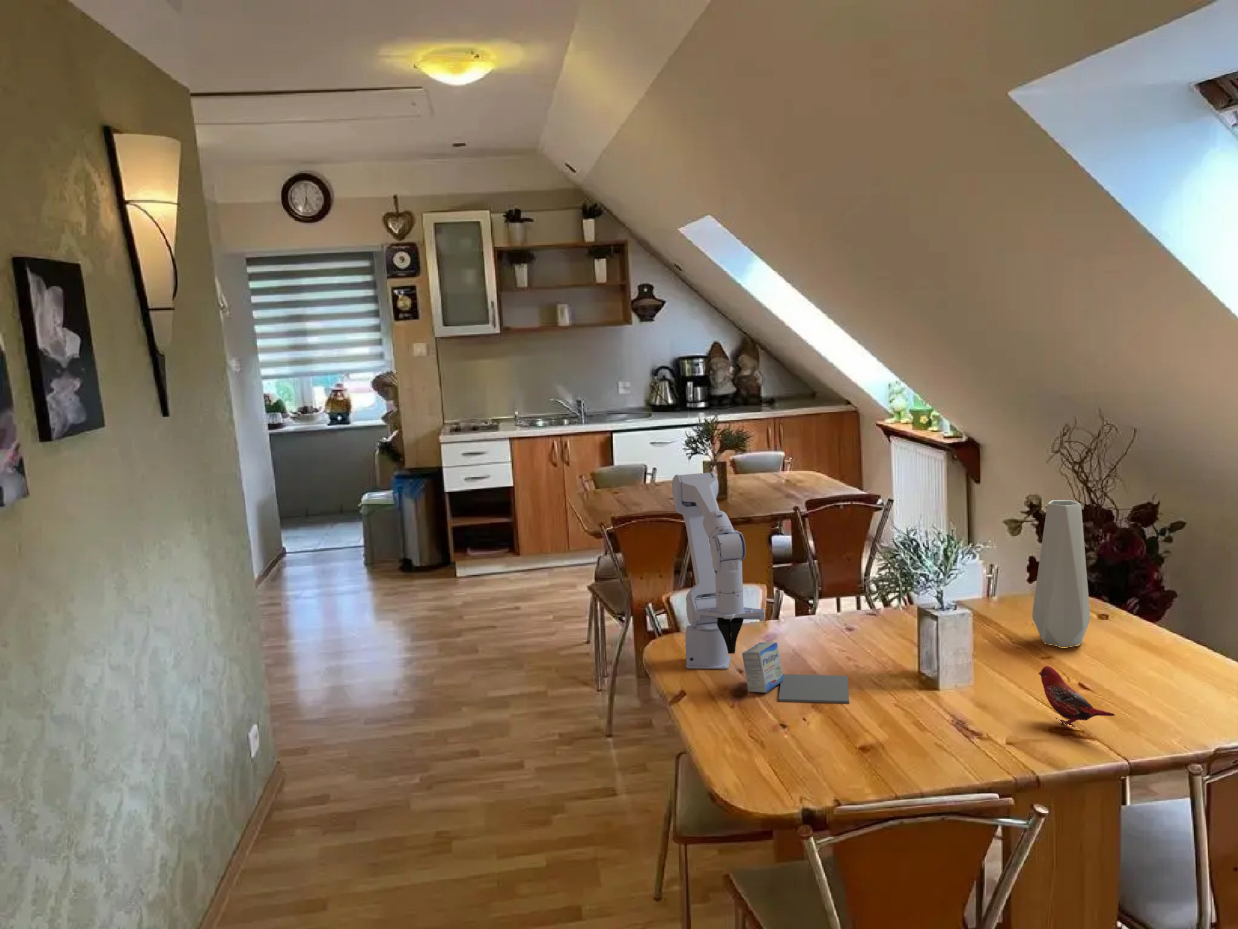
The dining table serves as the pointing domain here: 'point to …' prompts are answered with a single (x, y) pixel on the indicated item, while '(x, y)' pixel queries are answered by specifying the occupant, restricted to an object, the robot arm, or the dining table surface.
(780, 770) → the dining table surface
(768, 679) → the medicine box
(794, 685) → the mat
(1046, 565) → the vase
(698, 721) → the dining table surface
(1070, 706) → the decorative bird figurine
